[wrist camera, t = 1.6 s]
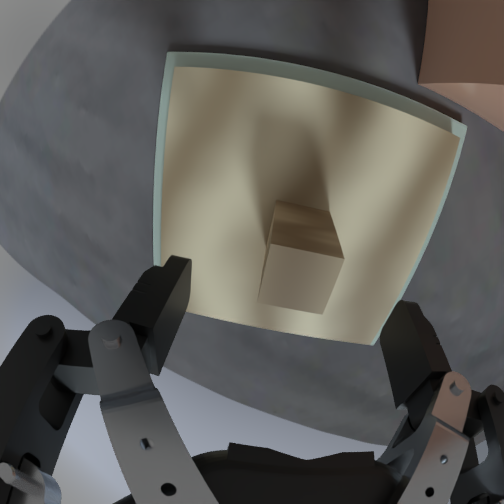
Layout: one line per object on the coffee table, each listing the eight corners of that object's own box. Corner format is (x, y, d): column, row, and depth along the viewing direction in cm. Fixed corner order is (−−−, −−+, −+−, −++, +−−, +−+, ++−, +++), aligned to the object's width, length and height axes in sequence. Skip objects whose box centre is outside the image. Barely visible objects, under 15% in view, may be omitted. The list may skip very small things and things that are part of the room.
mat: (462, 125, 13) (467, 126, 12) (372, 340, 22) (373, 345, 21) (171, 53, 13) (167, 52, 13) (158, 298, 22) (155, 303, 22)
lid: (451, 135, 13) (514, 159, 8) (367, 335, 21) (380, 398, 16) (181, 68, 13) (125, 56, 8) (166, 297, 21) (136, 355, 16)
